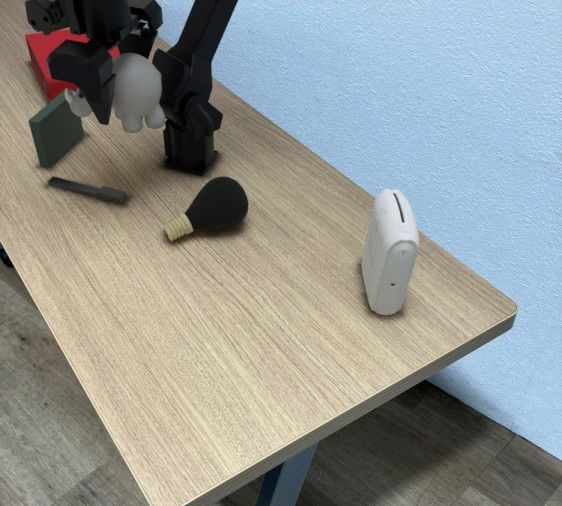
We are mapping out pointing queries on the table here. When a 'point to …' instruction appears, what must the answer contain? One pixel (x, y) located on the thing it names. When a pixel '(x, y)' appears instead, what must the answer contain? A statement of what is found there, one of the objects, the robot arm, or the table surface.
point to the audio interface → (39, 52)
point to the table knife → (90, 190)
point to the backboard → (55, 130)
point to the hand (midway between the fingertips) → (119, 107)
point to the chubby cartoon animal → (130, 94)
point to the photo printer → (389, 252)
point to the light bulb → (211, 209)
